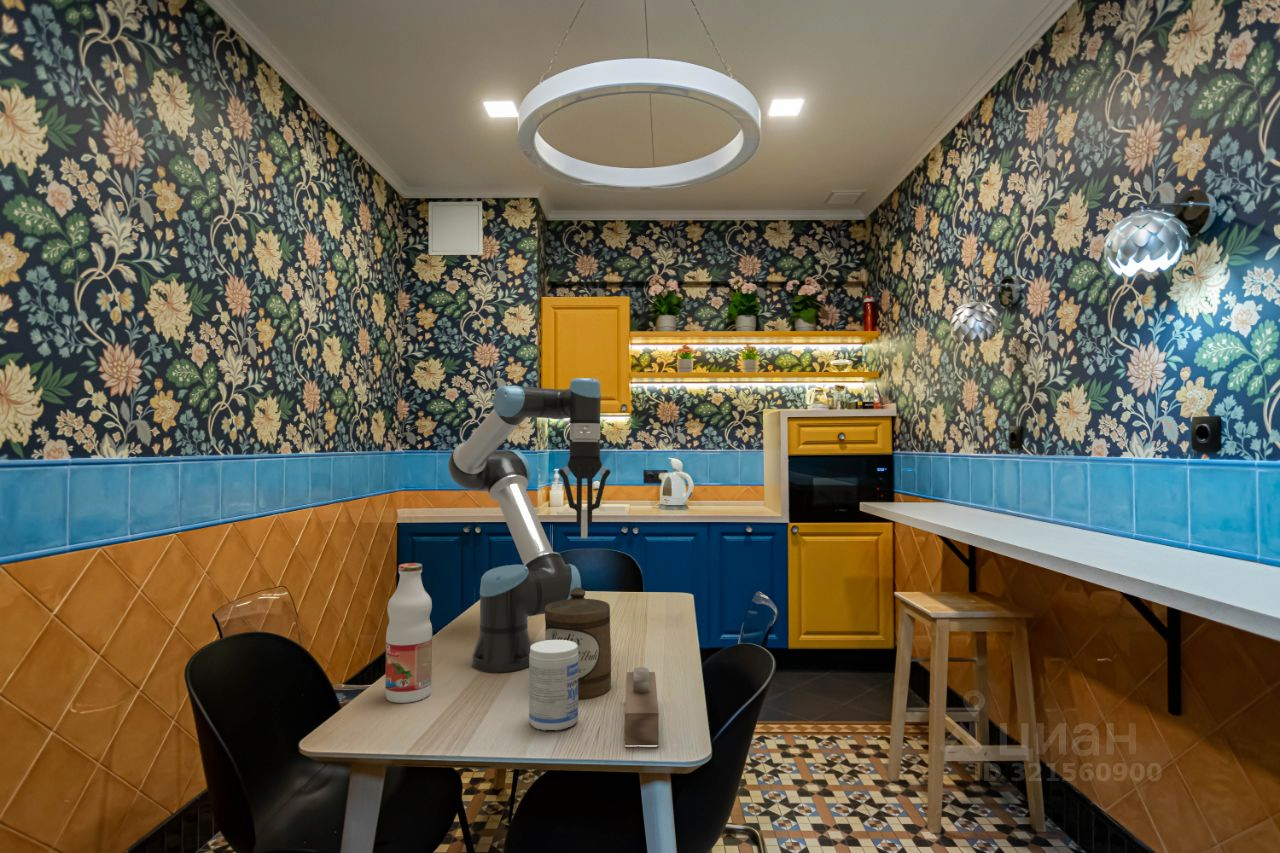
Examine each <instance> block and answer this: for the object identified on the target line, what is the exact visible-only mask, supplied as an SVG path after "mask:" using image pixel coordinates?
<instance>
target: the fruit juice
mask: <svg viewBox="0 0 1280 853" xmlns="http://www.w3.org/2000/svg"><path fill="white" fill-rule="evenodd" d="M422 572H423V564H422V563H418V562H411V563H407V562H406V563H402V564H399V565H398V574H399V580H398V584H397V587H396V589H395V591H394V593H393V595H392V596H391V597H390V599H389V600H388V603H387V616H388V619H389V621H388V625H387V627H386V634H385V679H384V680H385V683H384V684H385V685H384V686H385V689H384V690H385V691H384V693H385V695H384V696H385V699H386V700H387V701H388V702H391V703H396V704H406V703H414V702H419V701H421V699H422V700H424V699H425V698H427V697H429V696H430V695H431V692H432V682H433V681H432V678H433V677H432V673H433V671H432V670H433V666H432V665H433V663H432V662H433V660H432V659H433V627H432V626H433V625H432V623H431V620H430V616H431V613H432V608H433V604H432V602H433V601H432V597H431V596H430V595H429V593H428V592H427V591H426V590H425V588H424V586H423V580H422V575H421V574H422Z"/></svg>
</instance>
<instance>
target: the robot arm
mask: <svg viewBox="0 0 1280 853" xmlns="http://www.w3.org/2000/svg"><path fill="white" fill-rule="evenodd" d="M601 398H602V393H601V382H600V381H599V380H598V379H596V378H589V377H579V378H578V377H577V378H573V379H571V381H570V383H569V388H566V389H565V388H564V389H558V388H547V387H533V386H532V387H531V386H519V385H514V384H513V385H501V386H499V387H497V389H496V390H495V393H494V396H493V401H492V404H493V409H492V411H490V413H489V414H488V415H487V416H486V417H485V418H484V420H483V421H482V422H481V423H480V424H479V425H478V427H477V428H476V429H475V430H474V431H473V433H472V434H471V435H470V436H469V437H468V438H467V440H466V441H465V442H463V443H462V442H461V443H460V444H458V445H457V446H456V447H455V448H454V449H453V451H452V452H451V453H450V456H449V459H448V463H447V464H448V465H447V468H448V473H449V475H450V478H451V479H452V480H453V482H455V483H456V484H457V485H458V486H460V487H462V488H463V489H466V490H471V491H473V490H474V491H481V490H482V491H484V490H487V492H488V495H489V497H490V499H492V500H493V501H494V502H497V503H498V505H499V508H500V509H501V512H502V515H503V517H504V519H505V522H506V525H507V527H508V530H509V532H510V534H511V537H512V539H513V541H514V544H515V547H516V549H517V551H518V554H519V557H520V559H521V561H522V564H511V565H509V564H508V565H503V566H498V567H493V568H491V569H489V570H487V571H486V572H485V573H484V574H483V575H482V576H481V578H480V588H479V601H480V602H479V608H480V609H479V636H478V638H477V641H476V644H475V646H474V647H475V648H474V650H473V653H472V658H471V659H472V664H471V665H472V668H474V669H475V670H478V671H481V672H487V673H507V672H508V673H510V672H515V671H520V670H524V669H526V668H529V656H530V655H529V654H530V647H531V645H533V643H532V641H531V637H530V634H529V631H528V630H529V629H528V618H529V617H534V616H539V615H545V606H546V605H547V604H550V603H552V602H556V601H561V600H568V599H571V598H572V597H571V596H570V591H571V590H573V589H574V588H582V581H581V574H580V572H579V569H578V568H577V567H576V565H573V564H571V563H567V564H566V563H565V561H564V559H563V556H562V555H561V554H560V552H559V553H558V552H556V551H553V548H552V546H551V544H550V542H549V539H548V536H547V535H546V533H545V530H544V528H543V526H542V523H541V521H540V519H539V517H538V514H537V512H536V510H535V508H534V505H533V503H532V500H531V497H530V496H529V494H528V492H527V488H528V485H529V482H530V479H531V471H530V470H531V467H530V462H529V461H528V459H527V457H526V455H524V454H523V453H522V452H520V451H518V450H511V449H502V450H498V449H499V447H500V446H502V444H503V443H504V442H505V441H506V440H507V438H509V436H511V434H512V433H513V432H514V431H515V430H516V429H517V427H519V426H520V425H521V423H523V421H525V419H526V418H533V419H534V418H538V419H539V418H540V419H541V418H542V419H552V420H563V419H569V439H570V440H571V442H570V443H569V457H568V458H569V460H568V462H567V464H566V466H565V467H563V468H561V469H559V470H558V474H559V475H560V477H561V478H562V482H563V485H564V489H565V493H566V498H567V501H568V502H567V504H568V507H569V508H570V509H572V510H575V512H576V524H578V525H579V524H580V538H581V539H588V524H589V525H590V524H592V523H593V511H594V510H597V509H599V508H600V505H601V502H602V497H603V494H604V491H605V490H604V489H605V486H606V480H607V479H608V477H609V476H610V474H611V470H610V469H608V468H607V467H605V466H603V463H602V460H601V443H600V442H598V441H599V440H600V439H601V402H602V401H601V400H602V399H601ZM569 471H570V472H571V473H572V475H573V476H574V477H575V478H576V503H575V501H574V496H573V493H572V489H571V484H570V479H569V477H568V476H569V475H570V473H569ZM599 472H600V476H601V478H600V482H599V486H598V490H597V494H596V497H595V502H594V503H593V479H594V478H595V476H597V474H598V473H599ZM583 479H586V480H587V486H586V487H587V488H586V491H587V492H586V497H587V498H586V500H587V501H586V509H584V510H583Z"/></svg>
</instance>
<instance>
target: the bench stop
mask: <svg viewBox="0 0 1280 853" xmlns="http://www.w3.org/2000/svg"><path fill="white" fill-rule="evenodd" d="M656 678H657V677H656V671H650V670H649V668H647V667H643V666H641V667H634V668H633V671H626V679H625V700H624V746H625V745H659V740H660V739H659V735H660V733H659V731H660V730H659V725H660V724H659V715H660V714H659V704H658V692H657V679H656ZM659 746H660V745H659Z"/></svg>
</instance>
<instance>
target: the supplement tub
mask: <svg viewBox="0 0 1280 853" xmlns="http://www.w3.org/2000/svg"><path fill="white" fill-rule="evenodd" d="M529 655H530V656H529V667H528V670H529V672H528V673H529V674H528V675H529V676H528V677H529V679H528V680H529V682H528V684H529V685H528V688H529V690H528V691H529V692H528V693H529V694H528V698H529V699H528V700H529V701H528V721H529V723H530V724H531V726H532V727H533V728H535V729H537V730H540V729H541V731H546V730H555V731H562V730H565V729H568V727H569V728H571V727H572V726H574V725H575V724H576V723H577V722H578V720H579V699H578V646H577V644H576V643H575V642H572V641H568V640H546V641H545V640H540V641H537V642H535V643H532V645H531V647H530V654H529Z"/></svg>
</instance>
